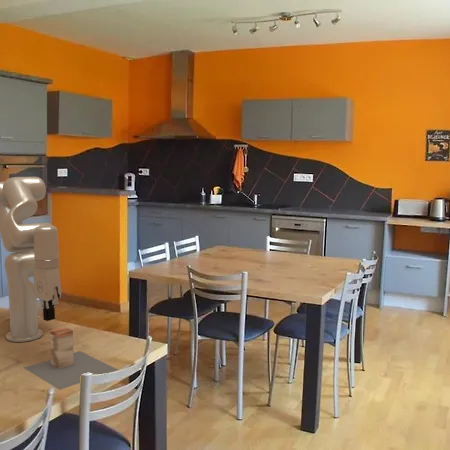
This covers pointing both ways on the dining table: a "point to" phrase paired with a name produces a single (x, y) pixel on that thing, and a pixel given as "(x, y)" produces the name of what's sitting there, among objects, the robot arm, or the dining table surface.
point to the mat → (69, 370)
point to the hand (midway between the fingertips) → (49, 319)
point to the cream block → (61, 347)
